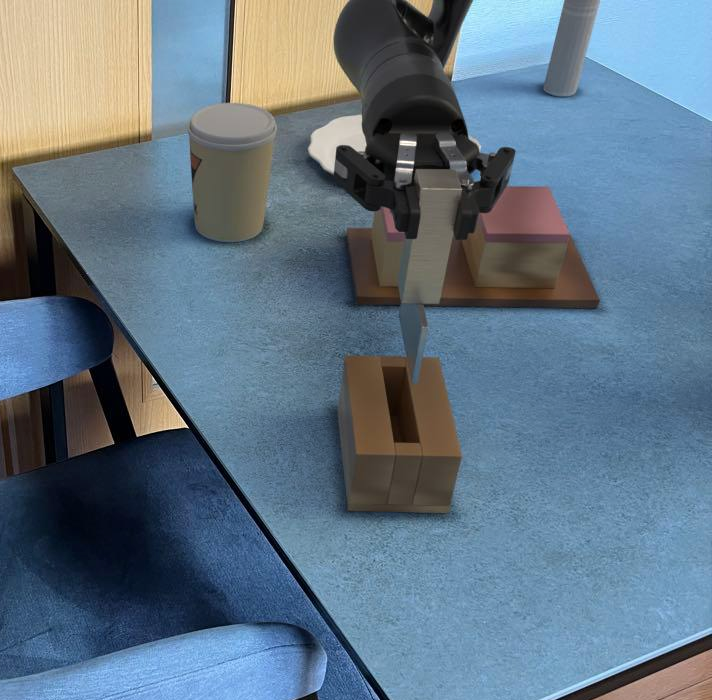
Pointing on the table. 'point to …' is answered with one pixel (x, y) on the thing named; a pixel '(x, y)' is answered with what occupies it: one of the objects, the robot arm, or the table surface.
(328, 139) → the plate
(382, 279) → the cake slice
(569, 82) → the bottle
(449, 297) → the cake
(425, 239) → the knife
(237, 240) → the coffee cup
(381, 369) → the knife block
